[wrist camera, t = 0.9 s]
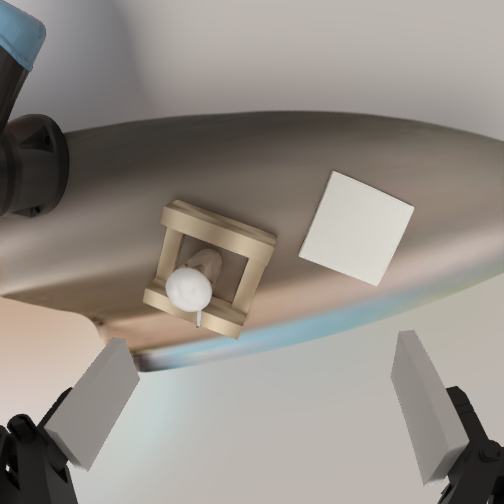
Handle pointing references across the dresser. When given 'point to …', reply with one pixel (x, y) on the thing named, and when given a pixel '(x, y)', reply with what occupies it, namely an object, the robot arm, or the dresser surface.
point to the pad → (355, 229)
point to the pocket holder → (220, 234)
